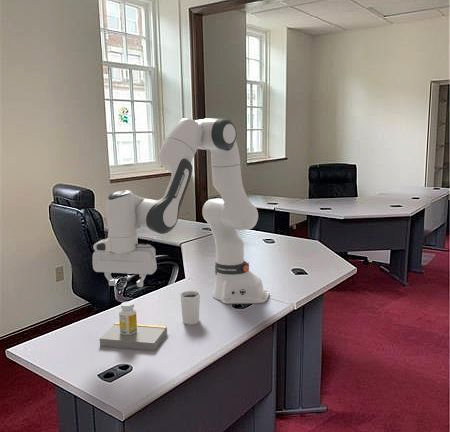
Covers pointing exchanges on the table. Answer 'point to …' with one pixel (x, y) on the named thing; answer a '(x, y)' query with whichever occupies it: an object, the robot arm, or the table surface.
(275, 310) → the table surface
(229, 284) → the robot arm
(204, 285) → the table surface
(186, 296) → the white coffee cup
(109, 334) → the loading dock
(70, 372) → the table surface
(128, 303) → the supplement bottle
